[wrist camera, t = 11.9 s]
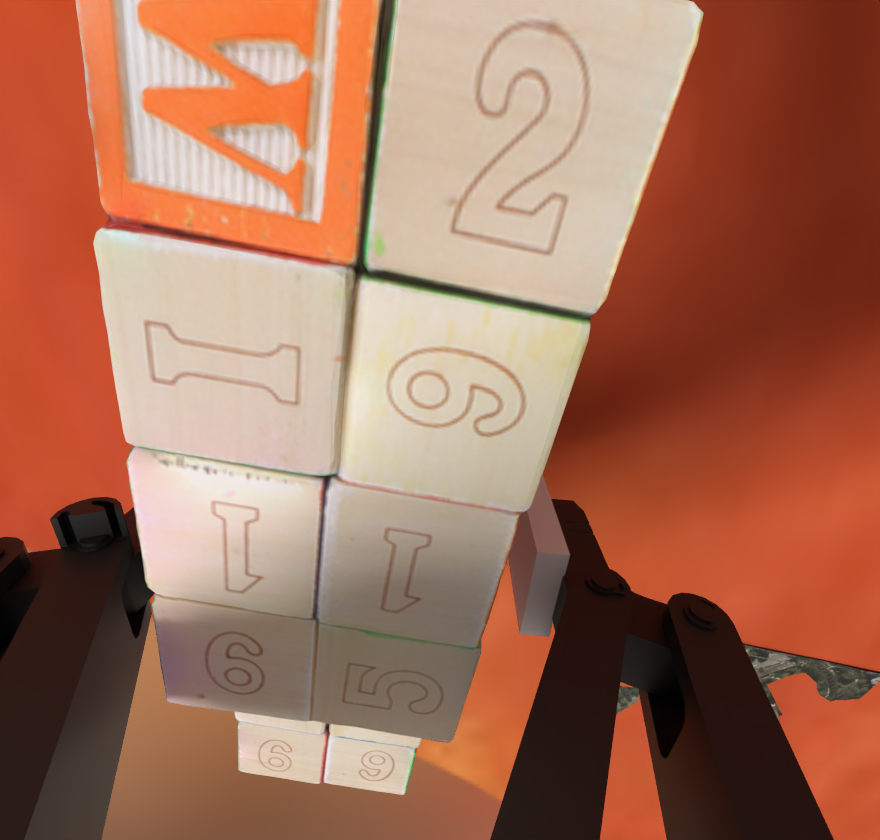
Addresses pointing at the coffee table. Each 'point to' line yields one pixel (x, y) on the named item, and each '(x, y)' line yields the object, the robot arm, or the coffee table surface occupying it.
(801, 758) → the coffee table surface
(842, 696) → the eiffel tower figurine
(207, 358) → the stack of blocks
